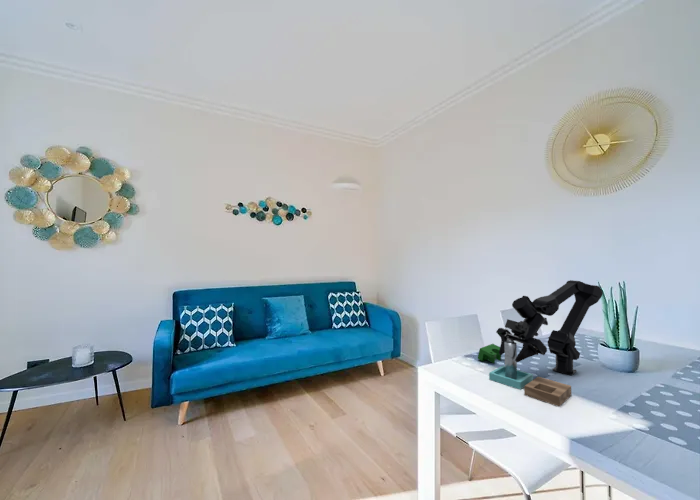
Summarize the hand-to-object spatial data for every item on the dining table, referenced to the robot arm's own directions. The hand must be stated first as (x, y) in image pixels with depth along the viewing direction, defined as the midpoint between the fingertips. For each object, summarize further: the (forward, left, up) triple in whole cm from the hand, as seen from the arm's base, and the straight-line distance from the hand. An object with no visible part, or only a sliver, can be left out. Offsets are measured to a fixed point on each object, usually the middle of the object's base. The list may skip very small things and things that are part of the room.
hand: (507, 357), depth 112 cm
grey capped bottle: (-1, +1, -7) cm, 8 cm away
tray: (-1, +1, -9) cm, 9 cm away
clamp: (-16, -14, -9) cm, 23 cm away
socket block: (+1, +14, -9) cm, 16 cm away
